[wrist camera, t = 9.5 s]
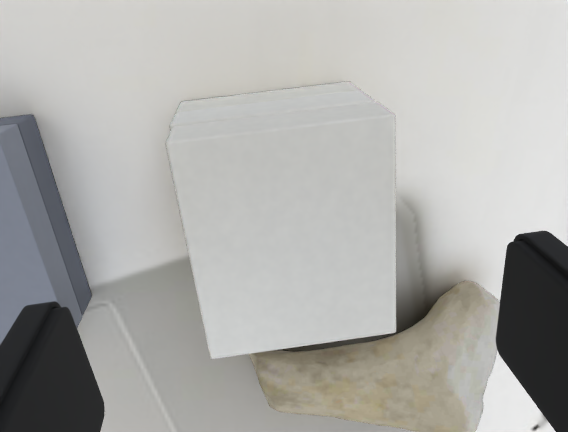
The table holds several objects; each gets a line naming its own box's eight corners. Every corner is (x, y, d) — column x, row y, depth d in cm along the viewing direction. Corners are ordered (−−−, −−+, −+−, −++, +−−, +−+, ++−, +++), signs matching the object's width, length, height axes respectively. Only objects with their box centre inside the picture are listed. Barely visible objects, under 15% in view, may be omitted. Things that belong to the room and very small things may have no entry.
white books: (180, 101, 18) (168, 124, 15) (350, 81, 18) (375, 99, 15) (213, 275, 21) (209, 326, 18) (357, 255, 21) (380, 302, 18)
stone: (477, 261, 22) (537, 329, 18) (490, 361, 25) (545, 440, 20) (242, 332, 22) (245, 414, 18) (280, 422, 25) (290, 513, 21)
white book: (172, 125, 15) (164, 142, 13) (378, 100, 15) (396, 113, 13) (212, 327, 18) (210, 360, 16) (382, 303, 18) (397, 333, 17)
